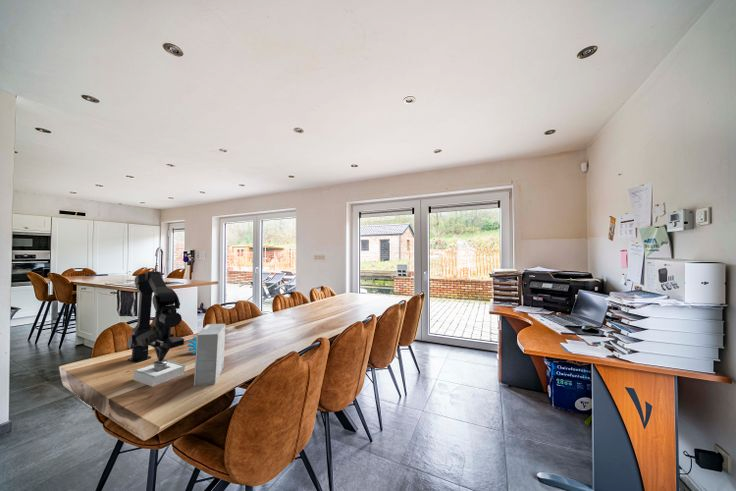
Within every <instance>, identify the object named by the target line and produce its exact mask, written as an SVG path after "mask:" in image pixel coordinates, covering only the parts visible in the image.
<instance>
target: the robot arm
mask: <svg viewBox="0 0 736 491" xmlns="http://www.w3.org/2000/svg"><path fill="white" fill-rule="evenodd" d="M134 285H135V288H136V290H137V291H138V292H139V300H138V312H137V313H138V314H137V324H136V326H134V328H133V329H132V331H131V335H130V336H129V338H128V341H127V348H128V349H130V350H131V357H130V358H127V361H129V362H132V363H139V362H142V361H146V360H148V359H152V356H150V355H149V348H150V347H152V348H153V349H154V351H155V355H156V357H157V361H163V360H165V357H166V356H167V354H168V353H169V351H170V350H171V349H174V348H177V347H181V346H184V345H185V339H184V338H183V337H179V336H174V333H172V328H176V327H177V326H179V325H180V324H181V322H182V317H183V316H182V315H181V314H180V313H179V312H177V309H181V308H180V306H181V302H180V298H179V296H178V294H177V293H176V291H174V289H172V288H170V287H167V284H166V282H165V281H164V279H163V277H162V272H161V271H157V270H156V271H147V272H145V273H141V274H137V275H136V276H135V277H134ZM152 305H153V307H154V309H155V314H154V315H155V316H154V325H151V314H152Z"/></svg>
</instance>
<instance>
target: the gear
mask: <svg viewBox="0 0 736 491" xmlns="http://www.w3.org/2000/svg"><path fill="white" fill-rule="evenodd" d="M188 342H189V343H188V344H187V348H188V352H191V351H192V352H191V354H193V355H195V354H196V343H197V336H194V337H193V338H192V339H190V340H189V341H188Z"/></svg>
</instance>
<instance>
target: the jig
mask: <svg viewBox="0 0 736 491" xmlns="http://www.w3.org/2000/svg"><path fill="white" fill-rule="evenodd" d="M185 366H186V365H185V364H182V363H178V362H175V361H171V360H168V363H167V365H166V369H164V370H162V371H159V372H155V371H154V365H153V364H150V365H148V366H145V367H141V368H138V369H135V370H133V375H132V377H133V378H132V380H133V381H135V382H138V383H141V384H143V385H147V386H149V387H155V386H157V385H160V384H163V383H165V382H167V381H170V380H173V379H176V378H178V377H180V376H183V375H185V369H186V368H185Z"/></svg>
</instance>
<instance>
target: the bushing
mask: <svg viewBox="0 0 736 491" xmlns="http://www.w3.org/2000/svg"><path fill="white" fill-rule="evenodd" d="M168 361H169V360H168V359H163V361H158V360H156V361H153V364H152V365H154V371H155V372H159V371H162V370H164V369H166V365H167V363H168Z"/></svg>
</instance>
